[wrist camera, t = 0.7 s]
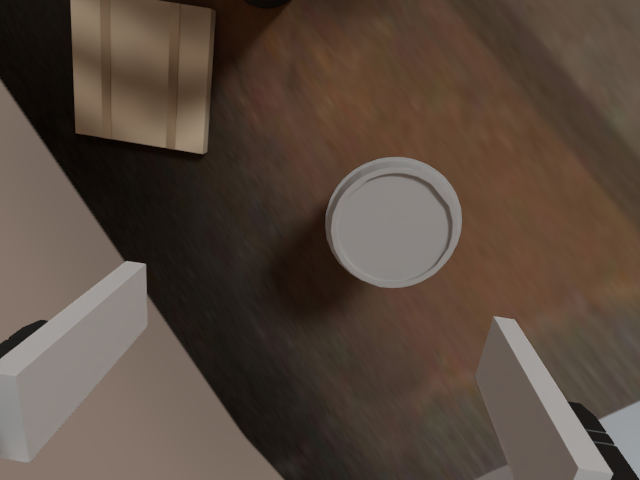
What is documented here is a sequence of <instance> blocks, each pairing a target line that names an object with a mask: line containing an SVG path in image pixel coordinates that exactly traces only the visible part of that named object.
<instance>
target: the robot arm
mask: <svg viewBox="0 0 640 480" xmlns="http://www.w3.org/2000/svg"><path fill="white" fill-rule="evenodd" d="M146 327H147V287H146V264H143V263H136V262H130V261H126V262H124V263H123V264H122V265H120V266H119V267H118V268H117V269H115V270H114V271H113V272H112V273H110V274H109V275H108V276H106V277H105V278H104V279H102V280H101V281H100V282H99V283H97V284H96V285H95V286H93V287H92V288H91V289H90V290H88V291H87V292H86V293H85V294H83V295H82V296H81V297H79V298H78V299H77V300H75V301H74V302H73V303H72V304H70V305H69V306H68V307H66V308H65V309H64V310H63V311H61V312H60V313H59V314H57V315H56V316H55V317H54V318H52V319H51V320H50V321H45V320H39V321H37V322H35V323H32V324H30V325H27V326H25V327H23V328H21V329H20V330H19V331H17V332H16V333H14V334H13V335H12V336H10V337H9V339H8V340H5V341H4V342H2V343H1V344H0V456H1V458H2V459H8V460H14V461H20V462H26V463H30V462H31V460H32V459H33V458H34V457H35V456H36V455H37V454H38V452H39V451H40V450H41V449H42V448H43V447H44V445H45V444H46V443H47V442H48V441H49V440H50V438H51V437H52V436H53V435H54V434H55V433H56V432H57V430H58V429H59V428H60V427H61V426H62V425H63V423H64V422H65V421H66V420H67V419H68V418H69V416H70V415H71V414H72V413H73V412H74V411H75V409H76V408H77V407H78V406H79V405H80V404H81V403H82V401H83V400H84V399H85V398H86V397H87V395H88V394H89V393H90V392H91V391H92V390H93V389H94V388H95V386H96V385H97V384H98V383H99V382H100V380H101V379H102V378H103V377H104V376H105V375H106V374H107V372H108V371H109V370H110V369H111V368H112V367H113V365H114V364H115V363H116V362H117V361H118V360H119V359H120V357H121V356H122V355H123V354H124V353H125V351H126V350H127V349H128V348H129V347H130V346H131V345H132V343H133V342H134V341H135V340H136V339H137V338H138V337H139V335H140V334H141V333H142V332H143V331H144V329H145V328H146ZM475 379H476V381H477V384H478V387H479V389H480V392H481V394H482V397H483V400H484V402H485V405H486V408H487V410H488V413H489V415H490V418H491V421H492V423H493V426H494V428H495V431H496V434H497V436H498V439H499V441H500V444H501V447H502V449H503V452H504V455H505V457H506V460H507V462H508V465H509V468H510V470H511V473H512V475H513V478H514V480H639V478H638V477H637V475H636V474H635V473H634V471H633V470H632V468H631V467H630V465H629V464H628V463H627V461H626V460H625V458H624V457H623V455H622V454H621V452H620V451H619V449H618V448H617V447H616V446H614V443H613V441H612V439H611V438H610V437H609V435H608V434H606V431H605V429H604V428H603V427H602V425H601V424H600V422H599V421H598V419H597V418H596V417H595V416H594V415H593V414H592V413H591V412H590V411H588V410H587V409H586V408H585V407H584V406H583V405H581V404H580V403H574V402H568V401H566V399H565V397H564V396H563V394H562V393H561V391H560V390H559V388H558V386H557V385H556V383H555V382H554V380H553V379H552V377H551V376H550V374H549V372H548V371H547V369H546V368H545V366H544V365H543V363H542V361H541V360H540V358H539V357H538V355H537V354H536V352H535V351H534V349H533V347H532V346H531V344H530V343H529V341H528V340H527V338H526V336H525V335H524V333H523V332H522V330H521V329H520V327H519V326H518V324H517V322H516V321H515V319H508V318H502V317H495V316H494V317H493V320H492V323H491V327H490V330H489V333H488V336H487V340H486V343H485V346H484V349H483V353H482V356H481V359H480V362H479V366H478V369H477V372H476V376H475Z"/></svg>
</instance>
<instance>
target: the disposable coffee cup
mask: <svg viewBox="0 0 640 480" xmlns="http://www.w3.org/2000/svg"><path fill="white" fill-rule="evenodd" d="M461 225H462V216H461V207H460V204H459V201H458V198H457V195H456V193H455V191H454V189H453V188H452V186H451V185H450V183H449V182H448V181H447V180H446V178H445V177H444V176H443V175H441V174H440V173H439V172H438V171H437V170H435V169H434V168H432V167H431V166H429V165H427V164H425V163H422V162H420V161H417V160H414V159H410V158H404V157H388V158H380V159H376V160H373V161H371V162H368V163H365V164H363V165H361V166H360V167H358V168H357V169H355V170H353V171H352V172H351V173H349V174H348V175H347V176H346V177H345V178H344V179H343V180H342V181H341V182H340V184H339V185H338V186H337V188H336V189H335V191H334V193H333V195H332V196H331V198H330V201H329V205H328V208H327V211H326V219H325V229H326V237H327V241H328V243H329V246H330V248H331V251H332V253H333V254H334V256H335V257H336V259H337V261H338V262H339V263H340V264H341V265H342V266H343V267H344V268H345V269H346V270H347V271H348V272H349V273H350V274H352V275H354V276H355V277H357V278H358V279H360V280H363V281H365V282H367V283H369V284H372V285H376V286H379V287H388V288H398V287H406V286H410V285H414V284H417V283H419V282H422V281H424V280H425V279H427V278H429V277H430V276H432V275H434V274H435V273H436V272H437V271H438V270H439V269H440V268H441V267H442V266H443V265H444V264H445V263H446V261H447V260H448V259H449V258H450V256H451V254H452V253H453V251H454V249H455V247H456V245H457V243H458V240H459V236H460V233H461Z"/></svg>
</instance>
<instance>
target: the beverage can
mask: <svg viewBox="0 0 640 480" xmlns="http://www.w3.org/2000/svg"><path fill="white" fill-rule="evenodd" d="M245 1H246V2H248V3H249V4H251V5H254V6H256V7H260V8H274V7H278V6H280V5H283V4H284V3H286V2H288V1H289V0H245Z"/></svg>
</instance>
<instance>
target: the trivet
mask: <svg viewBox="0 0 640 480" xmlns="http://www.w3.org/2000/svg"><path fill="white" fill-rule="evenodd" d="M215 17H216V11H215V10H213V9H210V8H204V7H198V6H191V5H185V4H179V3H173V2H165V1H159V0H71V26H72V52H73V78H74V104H75V130H76V133H78V134H84V135H90V136H96V137H102V138H107V139H115V140H121V141H127V142H133V143H139V144H145V145H151V146H157V147H163V148H168V149H174V150H181V151H187V152H194V153H200V154H204V153H207V146H208V130H209V114H210V97H211V81H212V65H213V49H214V33H215Z"/></svg>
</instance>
